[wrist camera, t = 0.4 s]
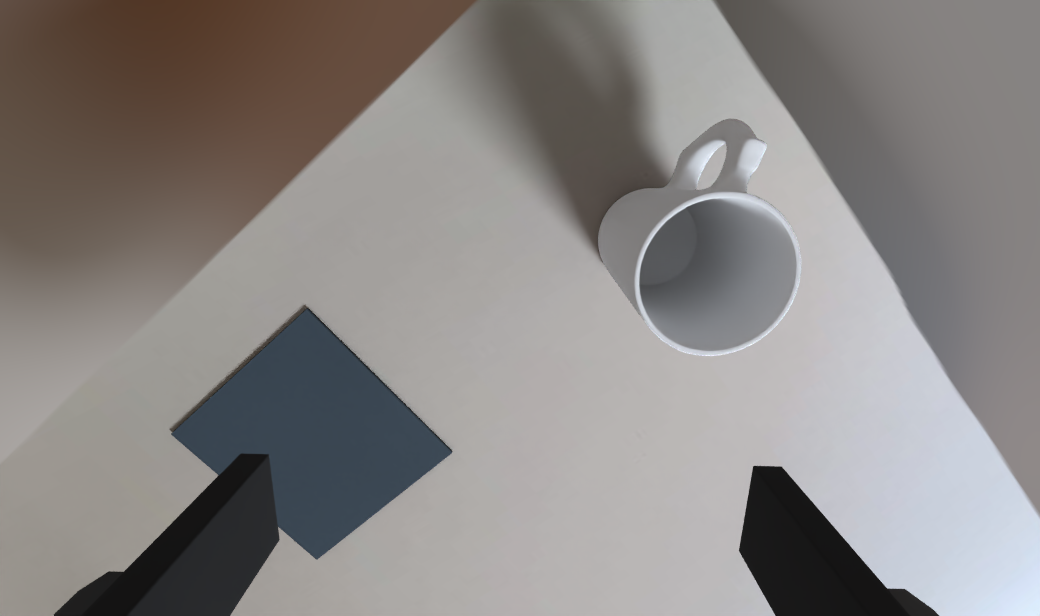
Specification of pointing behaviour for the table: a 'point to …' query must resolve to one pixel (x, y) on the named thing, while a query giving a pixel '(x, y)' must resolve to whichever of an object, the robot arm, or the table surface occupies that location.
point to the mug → (704, 250)
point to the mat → (315, 433)
